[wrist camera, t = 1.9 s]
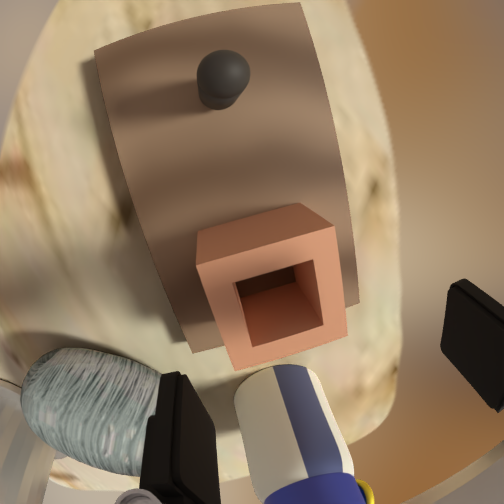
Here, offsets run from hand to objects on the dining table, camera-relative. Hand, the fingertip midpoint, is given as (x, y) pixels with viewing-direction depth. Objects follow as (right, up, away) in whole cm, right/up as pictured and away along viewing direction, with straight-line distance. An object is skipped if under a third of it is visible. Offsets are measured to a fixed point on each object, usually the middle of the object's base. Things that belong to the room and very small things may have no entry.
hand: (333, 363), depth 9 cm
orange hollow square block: (-2, +3, +9) cm, 10 cm away
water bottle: (0, -9, +15) cm, 18 cm away
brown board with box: (-3, +8, +9) cm, 12 cm away
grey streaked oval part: (-13, -7, +13) cm, 20 cm away
